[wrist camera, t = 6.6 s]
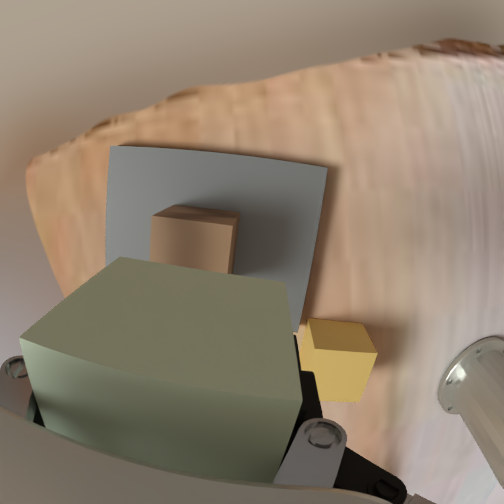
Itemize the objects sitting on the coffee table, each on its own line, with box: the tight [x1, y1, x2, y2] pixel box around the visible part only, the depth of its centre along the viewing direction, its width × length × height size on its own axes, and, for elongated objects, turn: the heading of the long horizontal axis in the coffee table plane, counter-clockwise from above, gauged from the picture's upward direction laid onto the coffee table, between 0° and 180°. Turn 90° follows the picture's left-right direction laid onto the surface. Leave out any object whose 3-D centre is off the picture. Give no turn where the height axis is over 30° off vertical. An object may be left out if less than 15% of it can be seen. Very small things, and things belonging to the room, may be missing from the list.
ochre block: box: [299, 318, 378, 402], centre depth 31 cm, size 6×6×6 cm
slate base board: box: [106, 146, 328, 333], centre depth 30 cm, size 20×16×2 cm
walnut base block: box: [150, 205, 240, 274], centre depth 27 cm, size 6×6×6 cm
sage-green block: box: [19, 256, 303, 483], centre depth 9 cm, size 6×6×6 cm
